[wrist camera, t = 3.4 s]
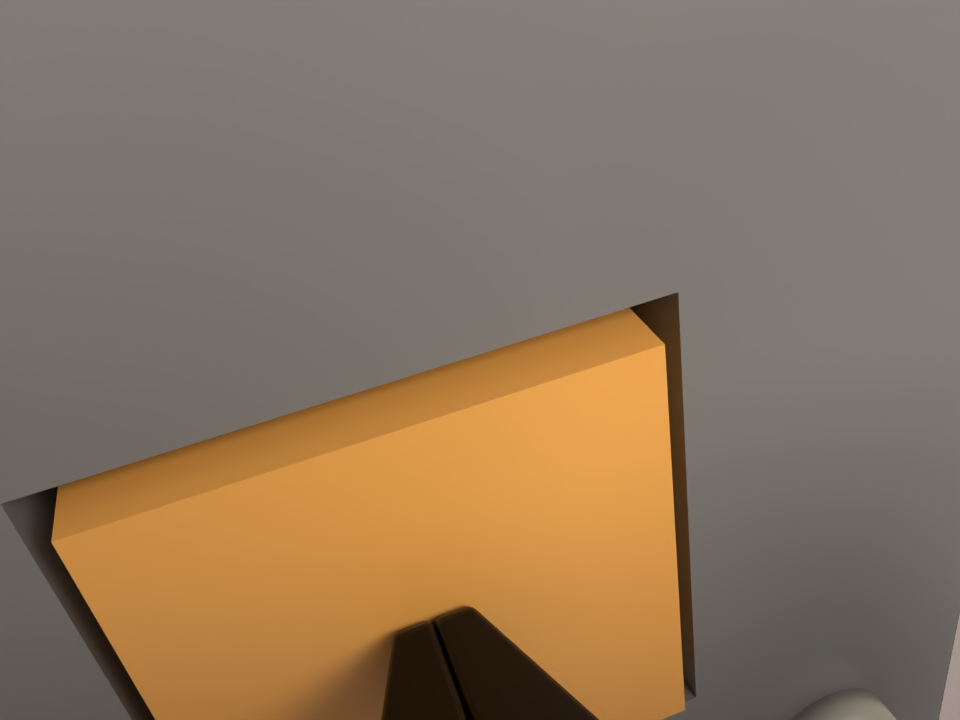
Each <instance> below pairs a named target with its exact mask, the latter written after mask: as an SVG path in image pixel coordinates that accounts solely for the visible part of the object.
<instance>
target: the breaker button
mask: <svg viewBox="0 0 960 720" xmlns="http://www.w3.org/2000/svg"><path fill="white" fill-rule="evenodd" d="M51 543H52V544H53V546H54V548H55V549H56V551H57V553H58V555H59V556H60V558H61V560H62V561H63V563H64V565H65V567H66V568H67V570H68V572H69V573H70V575H71V577H72V578H73V580H74V582H75V584H76V585H77V587H78V589H79V590H80V592H81V594H82V596H83V597H84V599H85V601H86V602H87V604H88V606H89V607H90V609H91V611H92V613H93V614H94V616H95V618H96V619H97V621H98V623H99V625H100V626H101V628H102V630H103V631H104V633H105V635H106V636H107V638H108V640H109V642H110V643H111V645H112V647H113V648H114V650H115V652H116V653H117V655H118V657H119V659H120V660H121V662H122V664H123V665H124V667H125V669H126V671H127V672H128V674H129V676H130V677H131V679H132V681H133V682H134V684H135V686H136V688H137V689H138V691H139V693H140V694H141V696H142V698H143V700H144V701H145V703H146V705H147V706H148V708H149V710H150V711H151V713H152V715H153V717H154V718H155V720H381V718H382V710H383V703H384V696H385V689H386V682H387V674H388V667H389V660H390V653H391V646H392V640H393V637H394V635H395V633H396V632H398V631H399V630H402V629H405V628H408V627H410V626H413V625H416V624H419V623H421V622H424V621H430V622H432V623H433V624H434V626H435V620H436V619H437V618H438V617H439V616H441V615H444V614H446V613H449V612H452V611H455V610H457V609H460V608H463V607H467V606H469V607H473V608H474V609H476V610H477V611H479V612H480V613H481V614H482V615H483V616H484V617H485V618H486V619H488V620H489V621H490V622H491V623H492V624H493V625H494V626H495V627H497V628H498V629H499V630H500V631H501V632H502V633H503V634H504V635H505V636H507V637H508V638H509V639H510V640H511V641H512V642H513V643H514V644H516V645H517V646H518V647H519V648H520V649H521V650H522V651H523V652H524V653H526V654H527V655H528V656H529V657H530V658H531V659H532V660H533V661H535V662H536V663H537V664H538V665H539V666H540V667H541V668H542V669H543V670H545V671H546V672H547V673H548V674H549V675H550V676H551V677H552V678H553V679H555V680H556V681H557V682H558V683H559V684H560V685H561V686H562V687H564V688H565V689H566V690H567V691H568V692H569V693H570V694H571V695H572V696H574V697H575V698H576V699H577V700H578V701H579V702H580V703H581V704H583V705H584V706H585V707H586V708H587V709H588V710H589V711H590V712H591V713H593V714H594V715H595V716H596V717H597V718H598V719H599V720H662V719H664V718H667V717H669V716H672V715H674V714H677V713H679V712H682V711H684V710H685V696H684V678H683V660H682V642H681V624H680V606H679V588H678V570H677V552H676V534H675V516H674V498H673V480H672V463H671V445H670V427H669V409H668V391H667V373H666V355H665V344H664V343H663V342H662V341H661V340H660V339H659V338H658V337H657V336H656V335H655V334H654V333H653V332H652V331H651V330H650V328H649V327H648V326H647V325H646V324H645V323H644V322H643V321H642V320H641V319H640V318H639V317H638V316H637V315H636V314H635V313H634V312H633V311H632V310H631V309H630V308H626V309H623V310H619V311H616V312H613V313H610V314H607V315H603V316H600V317H597V318H594V319H591V320H587V321H584V322H581V323H578V324H575V325H571V326H568V327H565V328H562V329H559V330H555V331H552V332H549V333H546V334H543V335H539V336H536V337H533V338H530V339H527V340H523V341H520V342H517V343H514V344H511V345H507V346H504V347H501V348H498V349H495V350H492V351H488V352H485V353H482V354H479V355H476V356H472V357H469V358H466V359H463V360H460V361H456V362H453V363H450V364H447V365H444V366H440V367H437V368H434V369H431V370H428V371H424V372H421V373H418V374H415V375H412V376H408V377H405V378H402V379H399V380H396V381H392V382H389V383H386V384H383V385H380V386H376V387H373V388H370V389H367V390H364V391H360V392H357V393H354V394H351V395H348V396H344V397H341V398H338V399H335V400H332V401H328V402H325V403H322V404H319V405H316V406H312V407H309V408H306V409H303V410H300V411H296V412H293V413H290V414H287V415H284V416H280V417H277V418H274V419H271V420H268V421H264V422H261V423H258V424H255V425H252V426H248V427H245V428H242V429H239V430H236V431H233V432H229V433H226V434H223V435H220V436H217V437H213V438H210V439H207V440H204V441H201V442H197V443H194V444H191V445H188V446H185V447H181V448H178V449H175V450H172V451H169V452H165V453H162V454H159V455H156V456H153V457H149V458H146V459H143V460H140V461H137V462H133V463H130V464H127V465H124V466H121V467H117V468H114V469H111V470H108V471H105V472H101V473H98V474H95V475H92V476H89V477H85V478H82V479H79V480H76V481H73V482H69V483H66V484H63V485H60V486H58V491H57V499H56V507H55V516H54V524H53V532H52V540H51Z"/></svg>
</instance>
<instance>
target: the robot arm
mask: <svg viewBox="0 0 960 720" xmlns="http://www.w3.org/2000/svg"><path fill="white" fill-rule="evenodd" d="M381 720H599V719H598V718H597V717H596V716H595V715H594V714H593V713H591V712H590V711H589V710H588V709H587V708H586V707H585V706H584V705H583V704H581V703H580V702H579V701H578V700H577V699H576V698H575V697H574V696H572V695H571V694H570V693H569V692H568V691H567V690H566V689H565V688H564V687H562V686H561V685H560V684H559V683H558V682H557V681H556V680H555V679H553V678H552V677H551V676H550V675H549V674H548V673H547V672H546V671H545V670H543V669H542V668H541V667H540V666H539V665H538V664H537V663H536V662H535V661H533V660H532V659H531V658H530V657H529V656H528V655H527V654H526V653H524V652H523V651H522V650H521V649H520V648H519V647H518V646H517V645H516V644H514V643H513V642H512V641H511V640H510V639H509V638H508V637H507V636H505V635H504V634H503V633H502V632H501V631H500V630H499V629H498V628H497V627H495V626H494V625H493V624H492V623H491V622H490V621H489V620H488V619H486V618H485V617H484V616H483V615H482V614H481V613H480V612H479V611H477V610H476V609H474V608H473V607H469V606H467V607H463V608H460V609H457V610H455V611H452V612H449V613H446V614H444V615H441V616H439V617H438V618H437V619H436V620H435V626H434V624H433V623H432V622H430V621H424V622H421V623H419V624H416V625H413V626H410V627H408V628H405V629H402V630H399V631H398V632H396V633H395V635H394V637H393V640H392V646H391V653H390V660H389V667H388V674H387V682H386V689H385V696H384V703H383V710H382V718H381Z"/></svg>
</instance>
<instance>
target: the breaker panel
mask: <svg viewBox="0 0 960 720" xmlns="http://www.w3.org/2000/svg"><path fill="white" fill-rule="evenodd" d="M626 308H630V309H631V310H632V311H633V312H634V313H635V314H636V315H637V316H638V317H639V318H640V319H641V320H642V321H643V322H644V323H645V324H646V325H647V326H648V327H649V328H650V330H651V331H652V332H653V333H654V334H655V335H656V336H657V337H658V338H659V339H660V340H661V341H662V342H663V343H664V344H665V355H666V373H667V391H668V409H669V427H670V445H671V463H672V480H673V498H674V516H675V534H676V552H677V570H678V588H679V606H680V624H681V642H682V660H683V678H684V696H685V710H684V711H682V712H679V713H677V714H674V715H672V716H669V717H667V718H664V719H662V720H939V715H940V710H941V705H942V700H943V695H944V690H945V685H946V680H947V674H948V669H949V664H950V659H951V654H952V649H953V644H954V639H955V634H956V629H957V624H958V619H959V614H960V0H0V720H155V718H154V717H153V715H152V713H151V711H150V710H149V708H148V706H147V705H146V703H145V701H144V700H143V698H142V696H141V694H140V693H139V691H138V689H137V688H136V686H135V684H134V682H133V681H132V679H131V677H130V676H129V674H128V672H127V671H126V669H125V667H124V665H123V664H122V662H121V660H120V659H119V657H118V655H117V653H116V652H115V650H114V648H113V647H112V645H111V643H110V642H109V640H108V638H107V636H106V635H105V633H104V631H103V630H102V628H101V626H100V625H99V623H98V621H97V619H96V618H95V616H94V614H93V613H92V611H91V609H90V607H89V606H88V604H87V602H86V601H85V599H84V597H83V596H82V594H81V592H80V590H79V589H78V587H77V585H76V584H75V582H74V580H73V578H72V577H71V575H70V573H69V572H68V570H67V568H66V567H65V565H64V563H63V561H62V560H61V558H60V556H59V555H58V553H57V551H56V549H55V548H54V546H53V544H52V543H51V540H52V532H53V524H54V516H55V507H56V499H57V491H58V486H60V485H63V484H66V483H69V482H73V481H76V480H79V479H82V478H85V477H89V476H92V475H95V474H98V473H101V472H105V471H108V470H111V469H114V468H117V467H121V466H124V465H127V464H130V463H133V462H137V461H140V460H143V459H146V458H149V457H153V456H156V455H159V454H162V453H165V452H169V451H172V450H175V449H178V448H181V447H185V446H188V445H191V444H194V443H197V442H201V441H204V440H207V439H210V438H213V437H217V436H220V435H223V434H226V433H229V432H233V431H236V430H239V429H242V428H245V427H248V426H252V425H255V424H258V423H261V422H264V421H268V420H271V419H274V418H277V417H280V416H284V415H287V414H290V413H293V412H296V411H300V410H303V409H306V408H309V407H312V406H316V405H319V404H322V403H325V402H328V401H332V400H335V399H338V398H341V397H344V396H348V395H351V394H354V393H357V392H360V391H364V390H367V389H370V388H373V387H376V386H380V385H383V384H386V383H389V382H392V381H396V380H399V379H402V378H405V377H408V376H412V375H415V374H418V373H421V372H424V371H428V370H431V369H434V368H437V367H440V366H444V365H447V364H450V363H453V362H456V361H460V360H463V359H466V358H469V357H472V356H476V355H479V354H482V353H485V352H488V351H492V350H495V349H498V348H501V347H504V346H507V345H511V344H514V343H517V342H520V341H523V340H527V339H530V338H533V337H536V336H539V335H543V334H546V333H549V332H552V331H555V330H559V329H562V328H565V327H568V326H571V325H575V324H578V323H581V322H584V321H587V320H591V319H594V318H597V317H600V316H603V315H607V314H610V313H613V312H616V311H619V310H623V309H626Z"/></svg>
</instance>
